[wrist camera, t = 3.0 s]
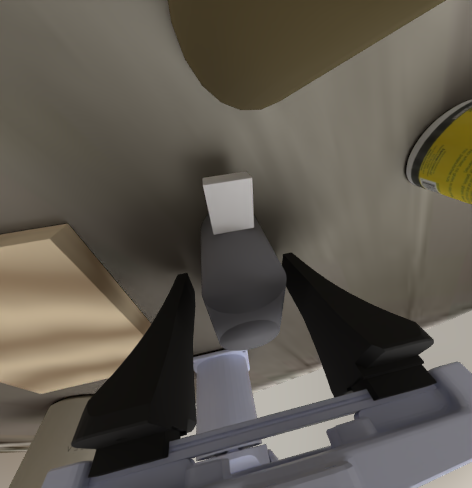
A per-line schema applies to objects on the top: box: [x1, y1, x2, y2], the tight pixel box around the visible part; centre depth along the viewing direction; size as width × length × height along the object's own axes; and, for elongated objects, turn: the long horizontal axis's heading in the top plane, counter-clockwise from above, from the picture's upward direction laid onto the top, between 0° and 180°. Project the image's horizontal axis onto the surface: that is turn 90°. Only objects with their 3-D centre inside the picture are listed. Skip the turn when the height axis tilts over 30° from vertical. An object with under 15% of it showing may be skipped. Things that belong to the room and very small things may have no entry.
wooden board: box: [0, 224, 151, 394], centre depth 14 cm, size 18×14×2 cm
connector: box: [201, 171, 286, 351], centre depth 11 cm, size 11×4×5 cm, turn 6°
